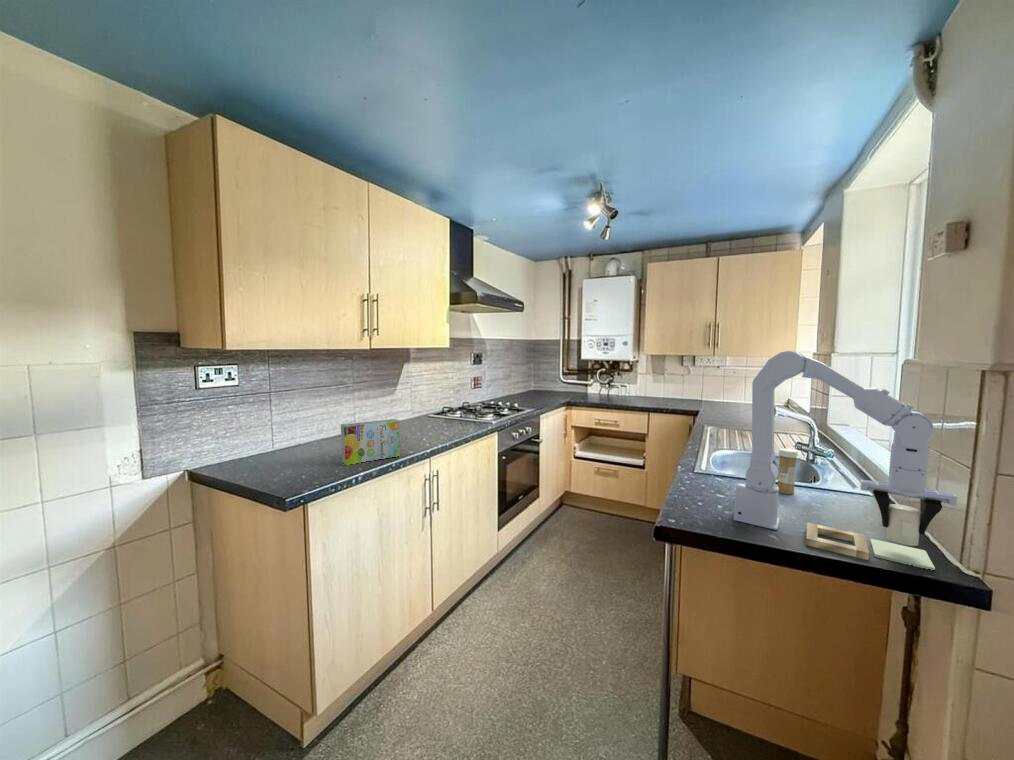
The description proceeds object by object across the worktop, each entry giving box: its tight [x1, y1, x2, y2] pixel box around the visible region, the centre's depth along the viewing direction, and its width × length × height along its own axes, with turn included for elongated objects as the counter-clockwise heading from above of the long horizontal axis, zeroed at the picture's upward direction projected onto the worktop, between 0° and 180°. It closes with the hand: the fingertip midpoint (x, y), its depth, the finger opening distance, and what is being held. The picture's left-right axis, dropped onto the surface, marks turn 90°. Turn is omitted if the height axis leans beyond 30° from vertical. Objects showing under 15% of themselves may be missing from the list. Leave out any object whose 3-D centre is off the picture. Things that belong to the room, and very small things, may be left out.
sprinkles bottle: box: [777, 447, 798, 495], centre depth 125 cm, size 5×5×14 cm
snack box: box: [340, 418, 401, 466], centre depth 156 cm, size 21×6×15 cm, turn 125°
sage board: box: [869, 538, 936, 571], centre depth 87 cm, size 9×9×1 cm
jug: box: [885, 503, 921, 547], centre depth 86 cm, size 7×5×7 cm
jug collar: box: [805, 522, 870, 561], centre depth 92 cm, size 11×11×2 cm
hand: (902, 529), depth 87 cm, fingers closed on jug, 5 cm apart
